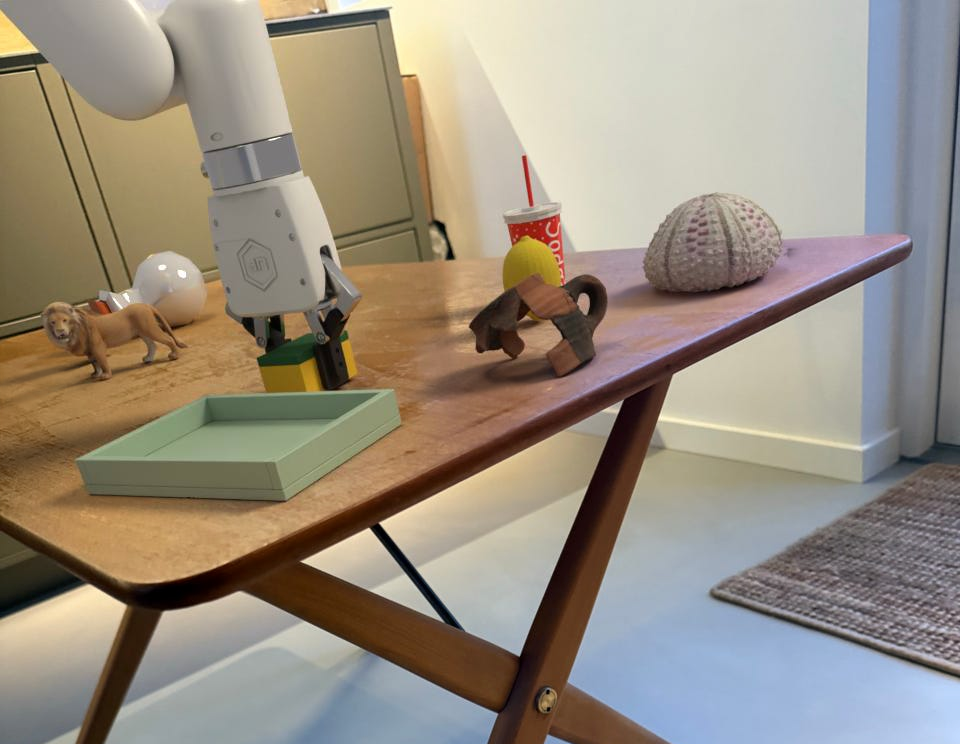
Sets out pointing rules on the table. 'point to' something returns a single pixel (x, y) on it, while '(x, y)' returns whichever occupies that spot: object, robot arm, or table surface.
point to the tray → (242, 445)
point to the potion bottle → (161, 289)
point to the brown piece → (544, 318)
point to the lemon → (530, 265)
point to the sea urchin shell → (712, 244)
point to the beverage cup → (537, 223)
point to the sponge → (298, 366)
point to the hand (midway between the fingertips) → (312, 384)
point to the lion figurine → (106, 332)
